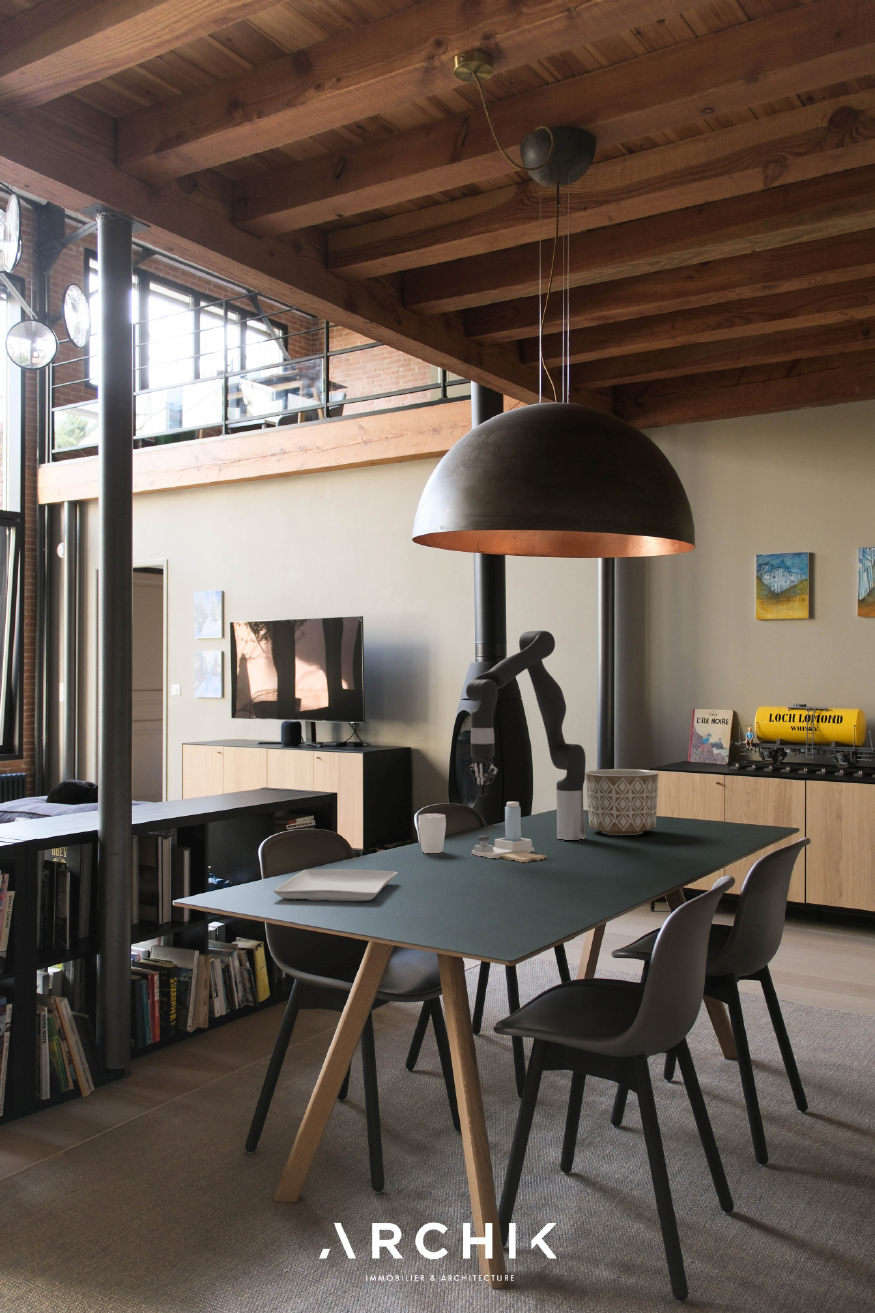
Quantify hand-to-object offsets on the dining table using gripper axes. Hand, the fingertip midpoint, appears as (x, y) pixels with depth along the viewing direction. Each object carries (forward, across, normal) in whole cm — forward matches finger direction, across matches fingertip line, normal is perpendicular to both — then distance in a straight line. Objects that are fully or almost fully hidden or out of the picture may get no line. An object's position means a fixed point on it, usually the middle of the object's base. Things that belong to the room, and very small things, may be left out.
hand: (483, 796), depth 315 cm
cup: (+19, +15, +9) cm, 26 cm away
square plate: (+19, -15, +65) cm, 69 cm away
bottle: (+17, -2, -11) cm, 21 cm away
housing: (+19, -2, -6) cm, 20 cm away
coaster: (+19, -13, -5) cm, 23 cm away
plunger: (+17, 0, 0) cm, 17 cm away
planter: (+19, 0, -67) cm, 70 cm away
